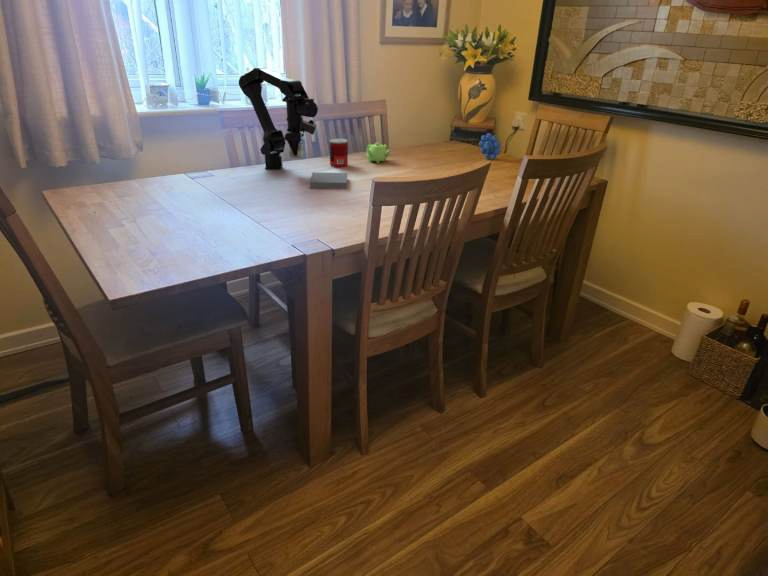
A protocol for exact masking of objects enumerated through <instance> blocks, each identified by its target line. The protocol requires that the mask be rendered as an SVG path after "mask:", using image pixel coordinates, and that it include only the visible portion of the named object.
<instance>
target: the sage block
mask: <svg viewBox="0 0 768 576" xmlns="http://www.w3.org/2000/svg"><path fill="white" fill-rule="evenodd" d="M288 152H289V158H290V159H303V157H304V144H303V142H300V143H299V144H298V152H297V156H294V154H293V152H292V150H291V148H290V146H289V145H288Z"/></svg>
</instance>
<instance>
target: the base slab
mask: <svg viewBox="0 0 768 576" xmlns="http://www.w3.org/2000/svg"><path fill="white" fill-rule="evenodd" d="M347 187H348V172H312V174H311V177H310V180H309V189H310V190H311V189H313V190H321V189H322V190H347Z"/></svg>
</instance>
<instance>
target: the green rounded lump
mask: <svg viewBox="0 0 768 576" xmlns="http://www.w3.org/2000/svg"><path fill="white" fill-rule="evenodd" d="M387 148H388V145H387V144H380V142H374V144H368V145H367V147H366V150H365V151H366V158H367V159H368V161H369V163H372V162H375V164H380V163H381V162H383V163H384V162H386V160H387V158H388V156H389V155H390V153H391V152H392V149H391V148H389V149H388V150H387Z"/></svg>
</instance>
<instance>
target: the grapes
mask: <svg viewBox="0 0 768 576" xmlns="http://www.w3.org/2000/svg"><path fill="white" fill-rule="evenodd" d="M480 139H481V140H480V141H479V142H478V144H479V145H478V146H479V148H480V153H481V154H482V155H484V157H485V159H487V160H490V159H492V160H496V158H497V156H500V155H501V151H500V149H501V147H502V146H501V143H500V142H499V141H498V137H497V135H493V134H491V133H490V132H487V133H486V134H483V135H481V136H480Z"/></svg>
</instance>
